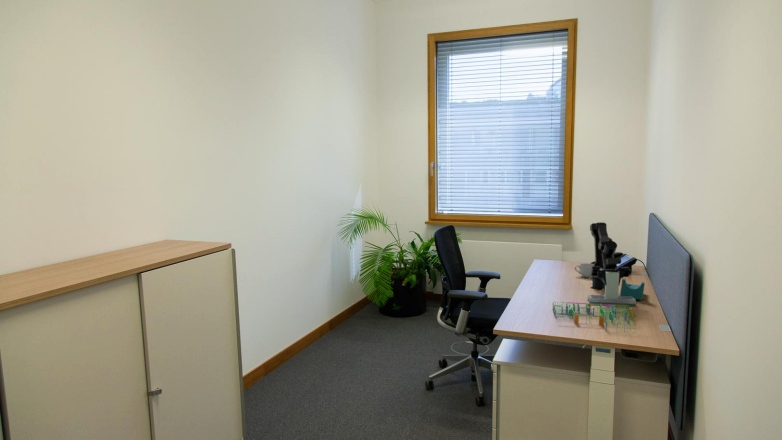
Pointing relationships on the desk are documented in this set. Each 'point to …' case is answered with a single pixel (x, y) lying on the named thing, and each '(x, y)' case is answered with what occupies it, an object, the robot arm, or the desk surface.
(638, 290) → the teal curved piece
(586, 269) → the teacup
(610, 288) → the door panel
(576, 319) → the house model
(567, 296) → the desk surface
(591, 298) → the door track
